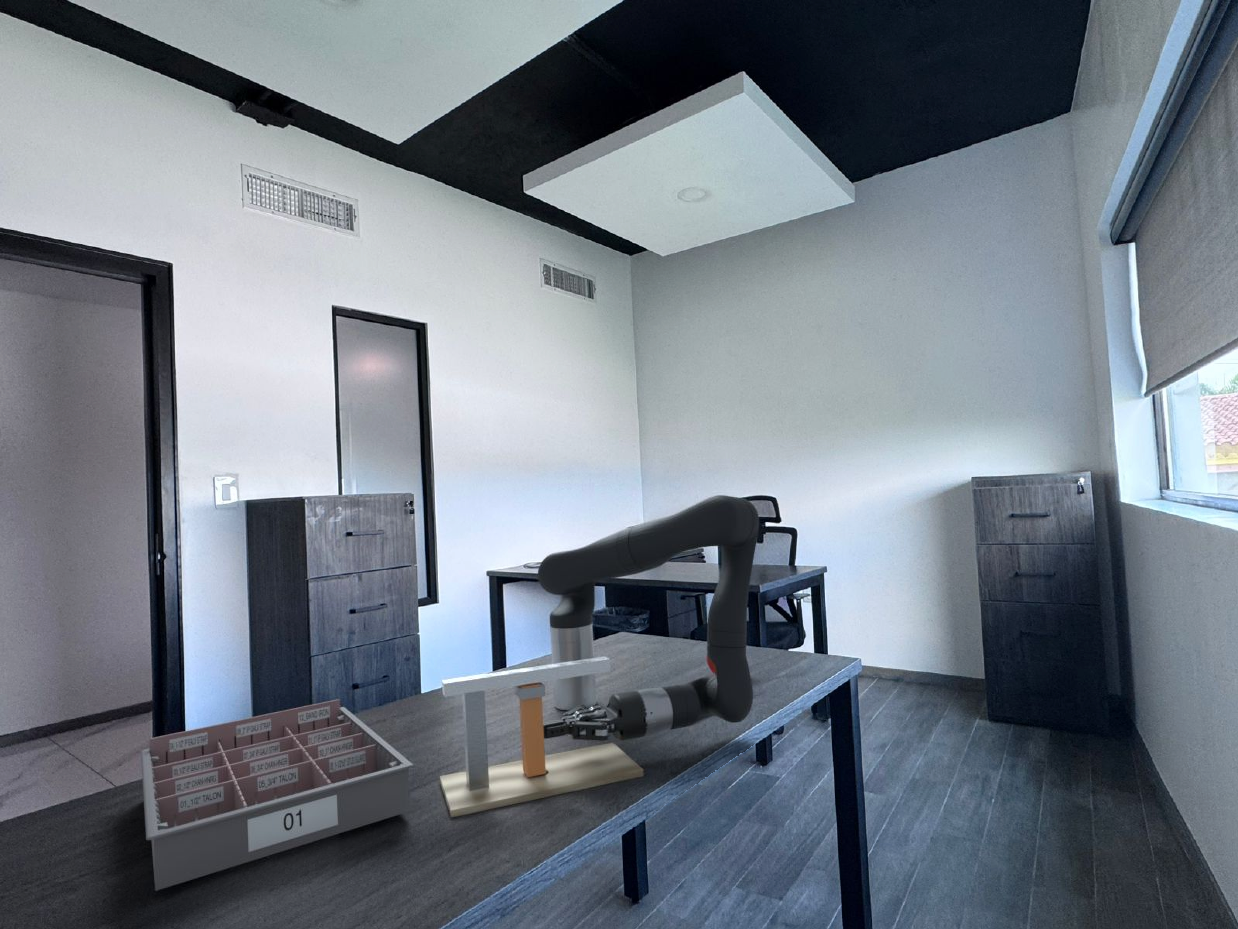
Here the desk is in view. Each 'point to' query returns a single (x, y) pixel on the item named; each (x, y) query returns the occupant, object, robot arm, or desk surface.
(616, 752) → the board
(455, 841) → the desk surface
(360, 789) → the organizer tray
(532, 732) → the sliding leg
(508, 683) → the bar
